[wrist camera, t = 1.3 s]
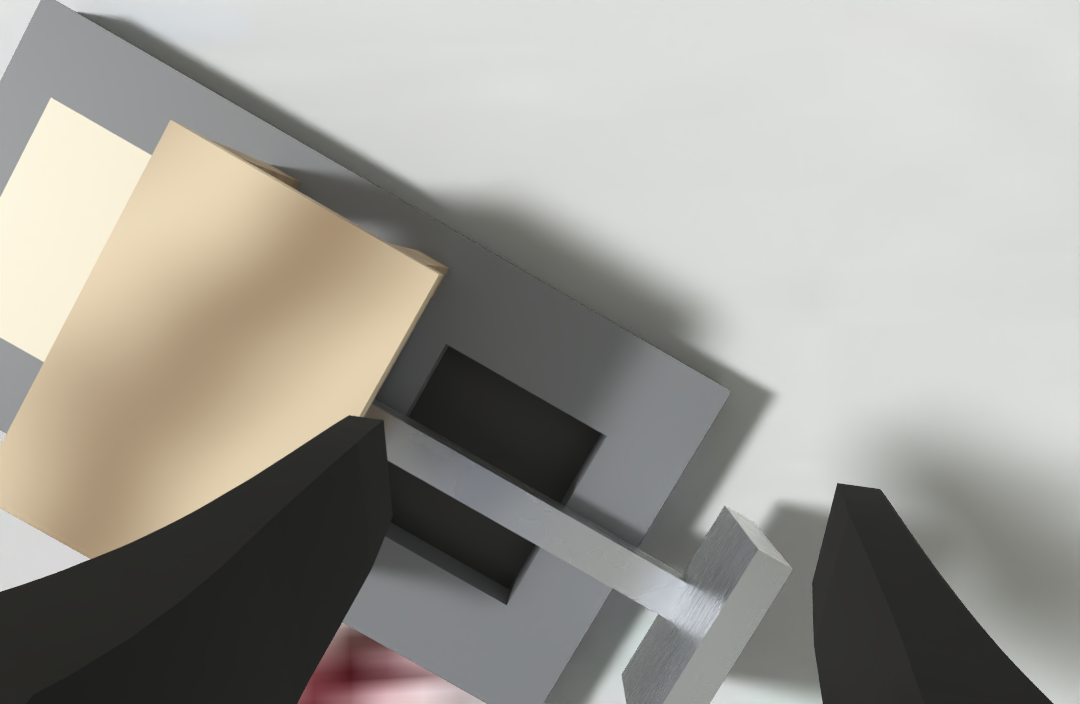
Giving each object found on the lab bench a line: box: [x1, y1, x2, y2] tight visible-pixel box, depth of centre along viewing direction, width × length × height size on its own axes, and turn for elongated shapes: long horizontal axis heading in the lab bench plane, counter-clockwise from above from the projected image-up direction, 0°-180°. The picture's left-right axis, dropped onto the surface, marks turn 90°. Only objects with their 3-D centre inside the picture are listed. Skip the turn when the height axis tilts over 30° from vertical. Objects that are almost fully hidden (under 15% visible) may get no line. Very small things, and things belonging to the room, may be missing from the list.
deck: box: [0, 0, 731, 704], centre depth 25 cm, size 23×12×2 cm, turn 60°
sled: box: [364, 327, 793, 704], centre depth 22 cm, size 18×6×4 cm, turn 60°
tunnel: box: [0, 120, 449, 559], centre depth 22 cm, size 7×10×5 cm
